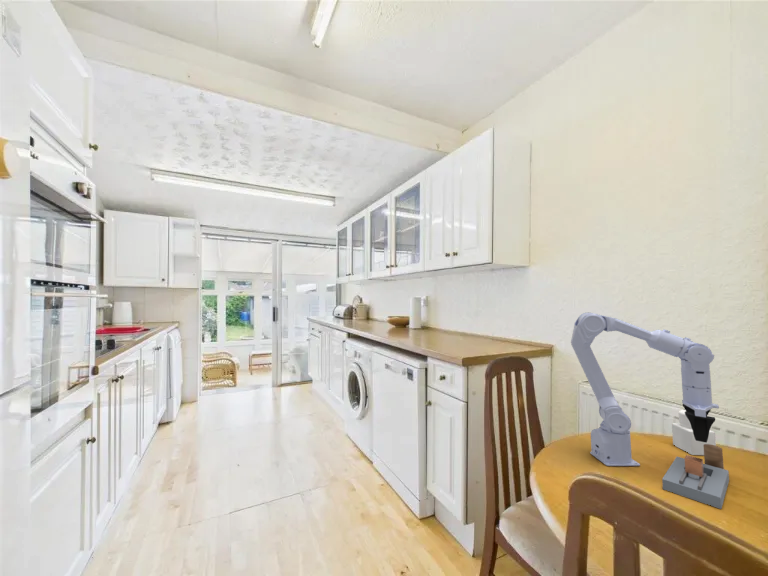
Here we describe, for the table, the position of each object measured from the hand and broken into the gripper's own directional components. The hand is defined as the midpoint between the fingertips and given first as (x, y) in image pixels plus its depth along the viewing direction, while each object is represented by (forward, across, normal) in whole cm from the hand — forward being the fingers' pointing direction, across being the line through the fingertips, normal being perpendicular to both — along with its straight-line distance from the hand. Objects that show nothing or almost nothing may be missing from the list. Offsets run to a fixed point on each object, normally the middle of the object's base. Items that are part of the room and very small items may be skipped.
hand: (699, 436), depth 86 cm
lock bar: (+7, -8, +1) cm, 11 cm away
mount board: (+10, -8, +2) cm, 13 cm away
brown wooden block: (+10, +4, -3) cm, 11 cm away
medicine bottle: (+10, +17, 0) cm, 20 cm away
